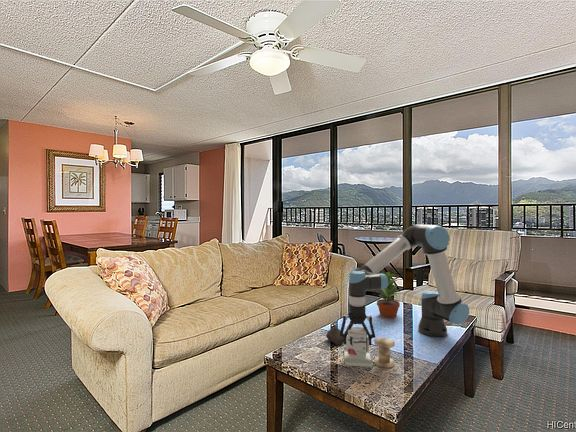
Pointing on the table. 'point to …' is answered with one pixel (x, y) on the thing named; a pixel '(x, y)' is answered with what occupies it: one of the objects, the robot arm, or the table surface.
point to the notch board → (357, 359)
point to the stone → (335, 336)
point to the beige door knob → (384, 352)
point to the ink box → (357, 341)
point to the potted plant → (388, 299)
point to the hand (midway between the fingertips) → (357, 351)
